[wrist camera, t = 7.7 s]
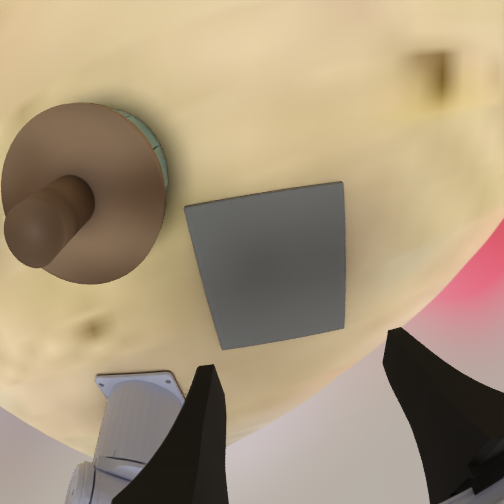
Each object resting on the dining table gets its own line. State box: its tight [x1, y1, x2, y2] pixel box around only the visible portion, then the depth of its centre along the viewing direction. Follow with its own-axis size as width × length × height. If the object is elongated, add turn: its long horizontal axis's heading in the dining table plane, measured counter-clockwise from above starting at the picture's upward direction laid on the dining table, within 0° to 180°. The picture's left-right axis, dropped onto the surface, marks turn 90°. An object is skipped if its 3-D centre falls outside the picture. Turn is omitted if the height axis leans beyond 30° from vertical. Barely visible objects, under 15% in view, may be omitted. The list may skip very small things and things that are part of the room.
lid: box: [1, 103, 166, 285], centre depth 13 cm, size 10×10×5 cm
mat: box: [184, 181, 346, 350], centre depth 22 cm, size 12×10×1 cm
